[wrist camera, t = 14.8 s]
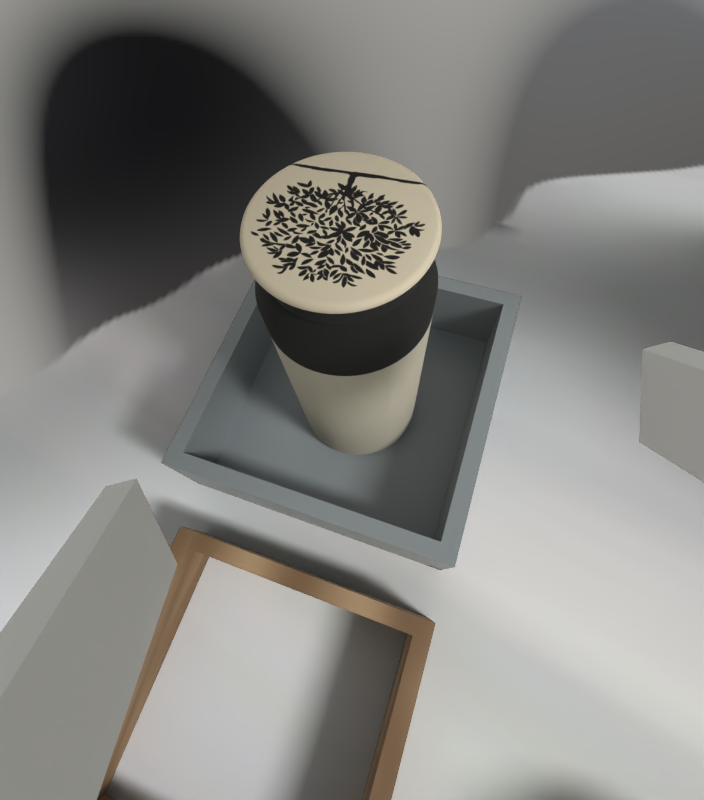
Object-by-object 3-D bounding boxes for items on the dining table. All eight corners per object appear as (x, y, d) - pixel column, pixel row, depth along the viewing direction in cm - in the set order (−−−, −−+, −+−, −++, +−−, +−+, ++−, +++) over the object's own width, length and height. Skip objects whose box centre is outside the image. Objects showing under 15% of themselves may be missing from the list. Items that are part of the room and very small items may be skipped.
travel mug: (390, 473, 31) (402, 345, 14) (287, 431, 32) (191, 273, 16) (428, 376, 33) (478, 173, 17) (332, 342, 35) (290, 125, 18)
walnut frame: (427, 617, 28) (435, 623, 24) (343, 946, 23) (336, 1017, 19) (204, 533, 31) (180, 526, 27) (81, 807, 26) (30, 845, 22)
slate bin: (499, 340, 35) (521, 295, 30) (440, 570, 29) (454, 566, 24) (291, 286, 38) (276, 237, 33) (198, 483, 32) (160, 462, 27)
